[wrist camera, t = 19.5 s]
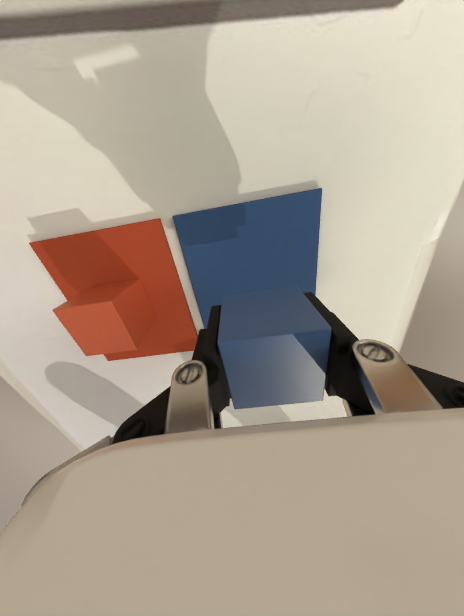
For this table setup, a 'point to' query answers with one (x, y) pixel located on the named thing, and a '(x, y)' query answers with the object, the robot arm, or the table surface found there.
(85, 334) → the terracotta block
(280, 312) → the blue block
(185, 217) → the blue mat
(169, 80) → the table surface
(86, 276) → the terracotta mat
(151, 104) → the table surface
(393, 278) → the table surface
